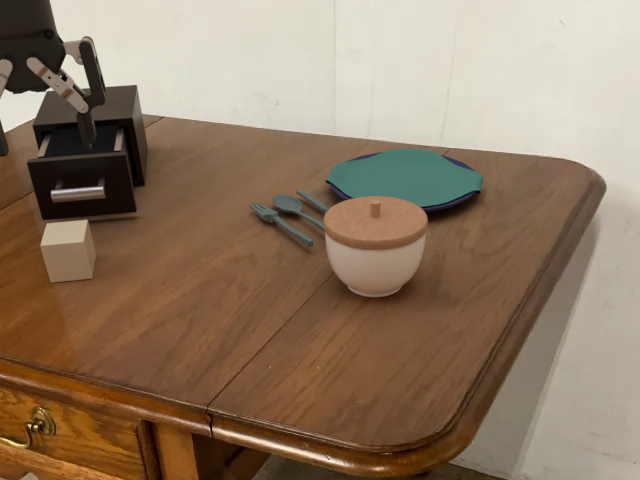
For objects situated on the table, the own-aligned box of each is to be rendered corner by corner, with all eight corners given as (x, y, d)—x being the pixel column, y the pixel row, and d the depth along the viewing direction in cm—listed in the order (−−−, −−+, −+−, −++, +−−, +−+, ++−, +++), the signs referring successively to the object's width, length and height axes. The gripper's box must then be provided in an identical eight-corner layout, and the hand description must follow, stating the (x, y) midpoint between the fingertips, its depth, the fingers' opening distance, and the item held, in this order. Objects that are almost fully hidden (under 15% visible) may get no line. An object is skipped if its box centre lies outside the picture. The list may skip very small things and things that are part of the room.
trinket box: (441, 274, 85) (447, 193, 79) (393, 319, 78) (395, 234, 72) (358, 251, 90) (358, 173, 84) (306, 291, 83) (302, 209, 77)
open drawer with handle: (135, 228, 94) (123, 169, 89) (37, 237, 92) (20, 177, 88) (140, 171, 108) (130, 118, 103) (55, 178, 107) (41, 124, 102)
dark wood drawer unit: (145, 185, 106) (132, 117, 100) (50, 193, 105) (31, 125, 99) (147, 147, 118) (136, 84, 112) (62, 154, 116) (46, 90, 111)
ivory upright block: (50, 283, 86) (39, 245, 83) (56, 259, 90) (46, 223, 87) (92, 278, 86) (83, 241, 83) (96, 255, 90) (87, 219, 88)
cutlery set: (510, 199, 100) (512, 182, 99) (312, 262, 88) (312, 244, 86) (417, 153, 113) (418, 138, 112) (235, 202, 101) (233, 185, 100)
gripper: (-92, -12, 66) (-32, 170, 77) (76, -23, 68) (114, 157, 78) (-71, -27, 72) (-18, 144, 82) (83, -37, 74) (118, 133, 84)
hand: (46, 150), depth 80 cm, fingers open, 8 cm apart
